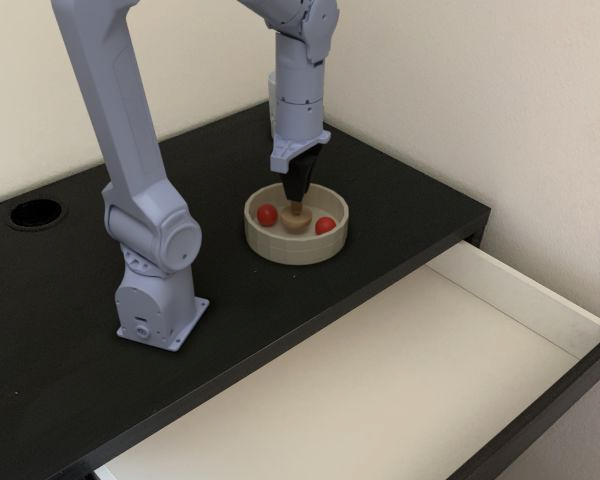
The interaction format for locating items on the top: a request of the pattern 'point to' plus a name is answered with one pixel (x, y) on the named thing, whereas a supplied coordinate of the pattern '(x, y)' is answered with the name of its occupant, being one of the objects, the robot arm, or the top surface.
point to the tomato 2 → (324, 225)
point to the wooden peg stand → (296, 215)
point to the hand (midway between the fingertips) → (297, 195)
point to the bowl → (296, 242)
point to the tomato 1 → (267, 214)
